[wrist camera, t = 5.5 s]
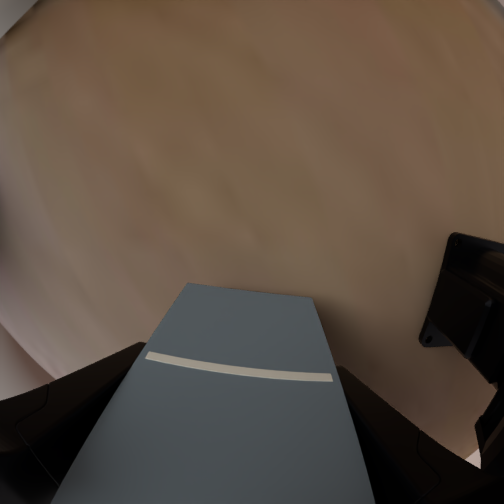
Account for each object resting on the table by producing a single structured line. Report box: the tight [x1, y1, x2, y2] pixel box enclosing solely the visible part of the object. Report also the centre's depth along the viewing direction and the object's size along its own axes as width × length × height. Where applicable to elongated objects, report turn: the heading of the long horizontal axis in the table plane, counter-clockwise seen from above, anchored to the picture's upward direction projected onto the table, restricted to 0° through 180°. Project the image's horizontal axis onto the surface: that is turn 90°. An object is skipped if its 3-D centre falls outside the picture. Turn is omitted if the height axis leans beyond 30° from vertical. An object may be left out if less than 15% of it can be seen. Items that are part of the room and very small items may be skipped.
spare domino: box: [51, 283, 375, 504], centre depth 7 cm, size 5×2×10 cm, turn 84°
